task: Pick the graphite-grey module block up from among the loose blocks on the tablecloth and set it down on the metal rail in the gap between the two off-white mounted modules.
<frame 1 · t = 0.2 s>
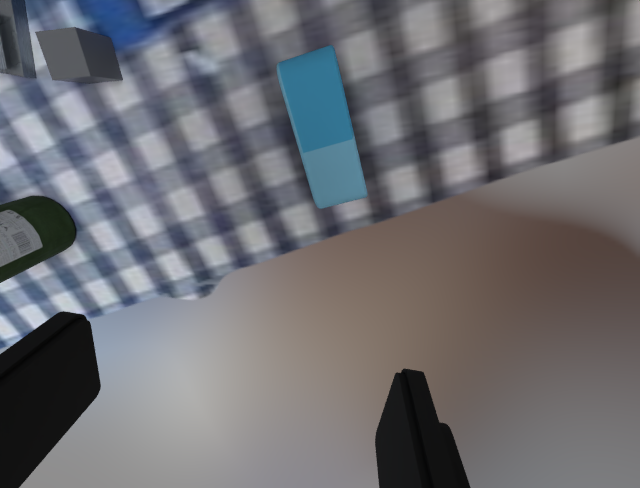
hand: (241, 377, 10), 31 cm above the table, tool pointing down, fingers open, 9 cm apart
wine bottle: (49, 223, 43), on the table
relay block: (100, 61, 35), on the table
blue flat block: (330, 127, 36), on the table
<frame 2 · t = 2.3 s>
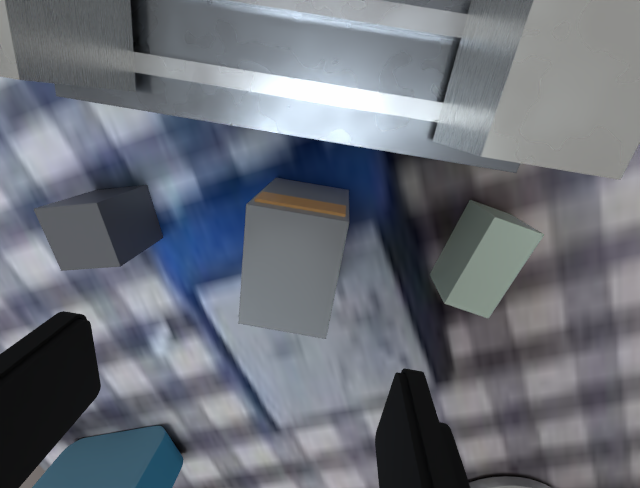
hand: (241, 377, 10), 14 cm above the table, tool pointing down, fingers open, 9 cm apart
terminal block: (467, 245, 23), on the table
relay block: (130, 214, 24), on the table
blue flat block: (131, 443, 34), on the table
rail base: (296, 52, 19), on the table
module: (305, 231, 23), on the table
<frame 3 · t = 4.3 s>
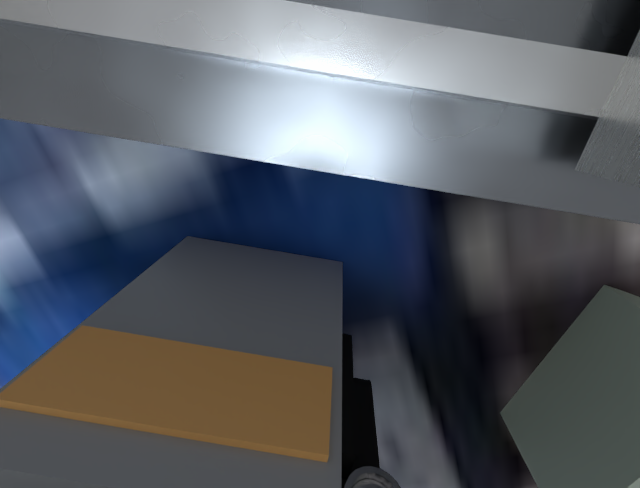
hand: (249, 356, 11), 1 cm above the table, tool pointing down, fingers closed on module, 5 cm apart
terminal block: (583, 365, 11), on the table
module: (257, 336, 12), on the table, touching gripper
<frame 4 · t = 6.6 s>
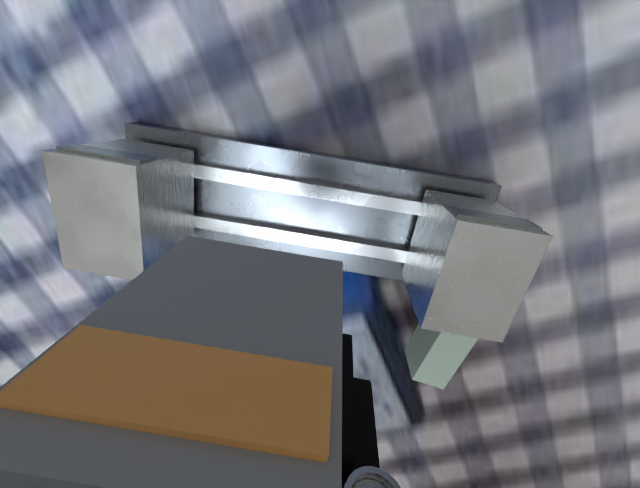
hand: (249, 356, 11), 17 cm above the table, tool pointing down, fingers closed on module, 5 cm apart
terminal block: (431, 329, 31), on the table
rail base: (306, 207, 27), on the table
module: (256, 336, 12), point 16 cm above the table, touching gripper
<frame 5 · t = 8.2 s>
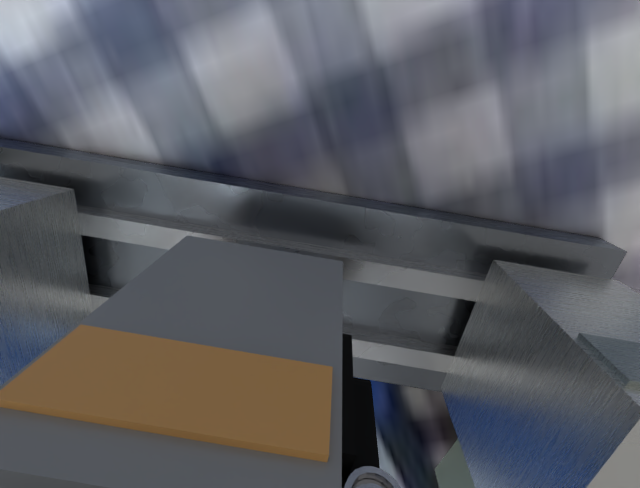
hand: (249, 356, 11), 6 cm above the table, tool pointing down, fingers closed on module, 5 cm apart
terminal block: (477, 445, 20), on the table
rail base: (283, 273, 16), on the table
module: (256, 336, 12), point 5 cm above the table, touching gripper
when the fingers open (5 cm above the table, at t = 9.2 s): module drops 2 cm, resting on rail base.
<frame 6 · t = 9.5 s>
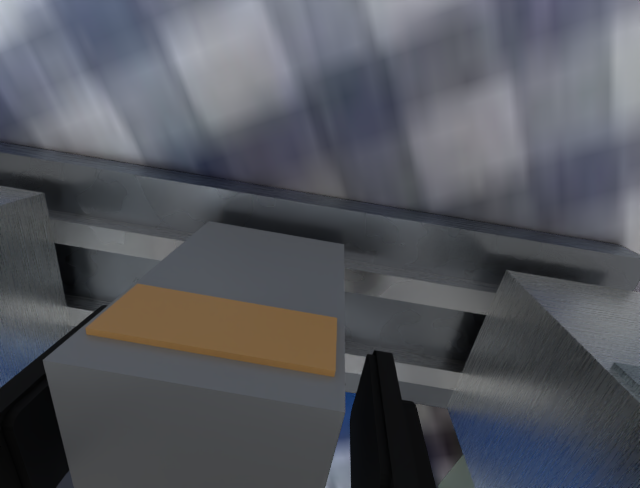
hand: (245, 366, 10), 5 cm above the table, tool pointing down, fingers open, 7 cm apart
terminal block: (483, 461, 19), on the table
rail base: (277, 282, 15), on the table
module: (267, 311, 13), point 2 cm above the table, touching rail base
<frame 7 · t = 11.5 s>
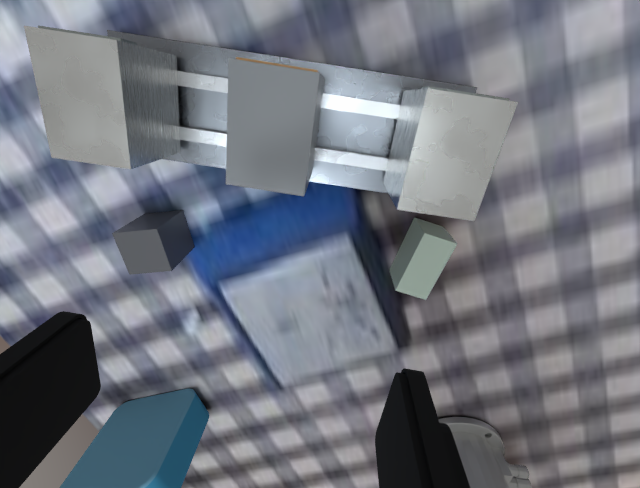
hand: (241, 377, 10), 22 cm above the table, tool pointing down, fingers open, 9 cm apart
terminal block: (415, 248, 32), on the table
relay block: (170, 230, 32), on the table
blue flat block: (167, 404, 43), on the table
rail base: (290, 121, 27), on the table
module: (286, 123, 25), point 2 cm above the table, touching rail base
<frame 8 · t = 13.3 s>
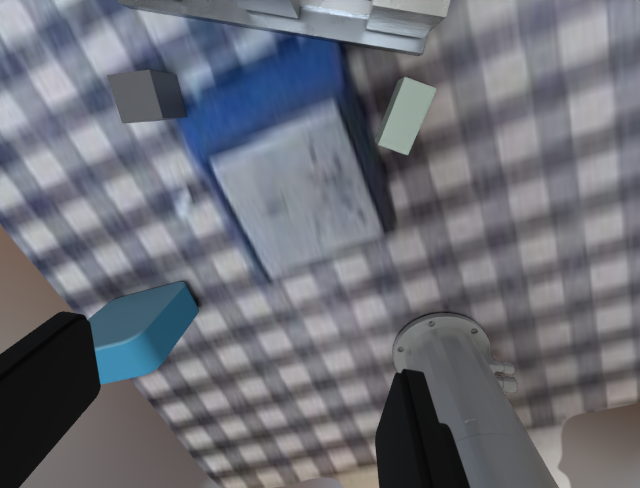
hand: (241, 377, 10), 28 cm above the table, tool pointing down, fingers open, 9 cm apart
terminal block: (399, 116, 33), on the table
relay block: (163, 98, 34), on the table
blue flat block: (158, 301, 44), on the table
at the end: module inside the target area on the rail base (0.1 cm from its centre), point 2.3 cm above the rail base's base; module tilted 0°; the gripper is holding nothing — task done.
